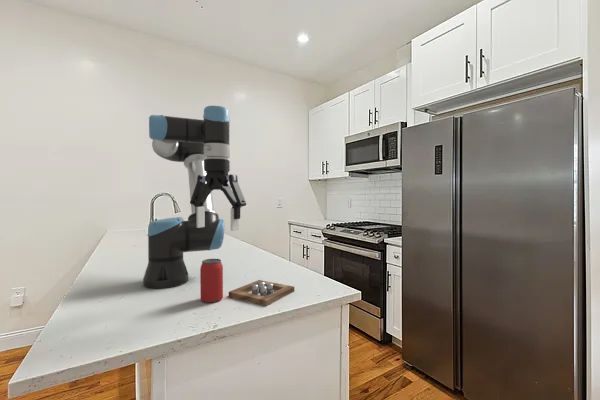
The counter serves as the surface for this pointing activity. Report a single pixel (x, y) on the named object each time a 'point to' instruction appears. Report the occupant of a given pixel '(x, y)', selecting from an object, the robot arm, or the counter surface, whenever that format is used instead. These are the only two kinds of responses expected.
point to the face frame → (263, 300)
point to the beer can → (211, 280)
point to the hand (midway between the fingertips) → (217, 228)
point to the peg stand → (262, 288)
